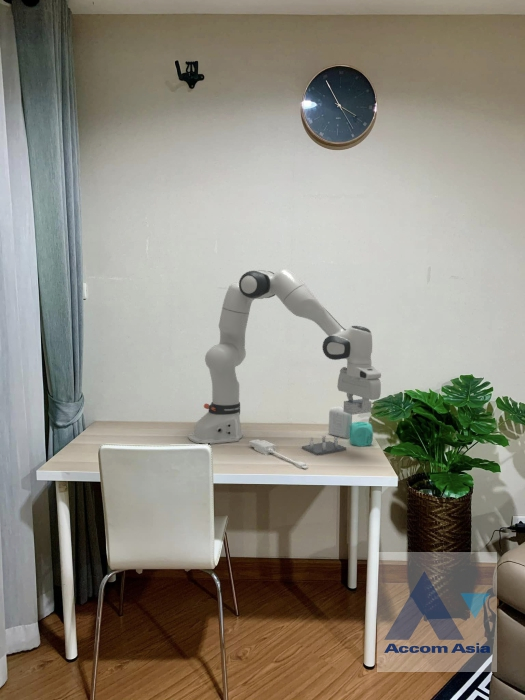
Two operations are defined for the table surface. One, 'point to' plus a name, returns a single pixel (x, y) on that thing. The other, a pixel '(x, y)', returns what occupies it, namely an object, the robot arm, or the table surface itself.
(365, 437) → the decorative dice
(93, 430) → the table surface
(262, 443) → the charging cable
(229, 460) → the table surface
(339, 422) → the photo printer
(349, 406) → the block
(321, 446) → the peg board
